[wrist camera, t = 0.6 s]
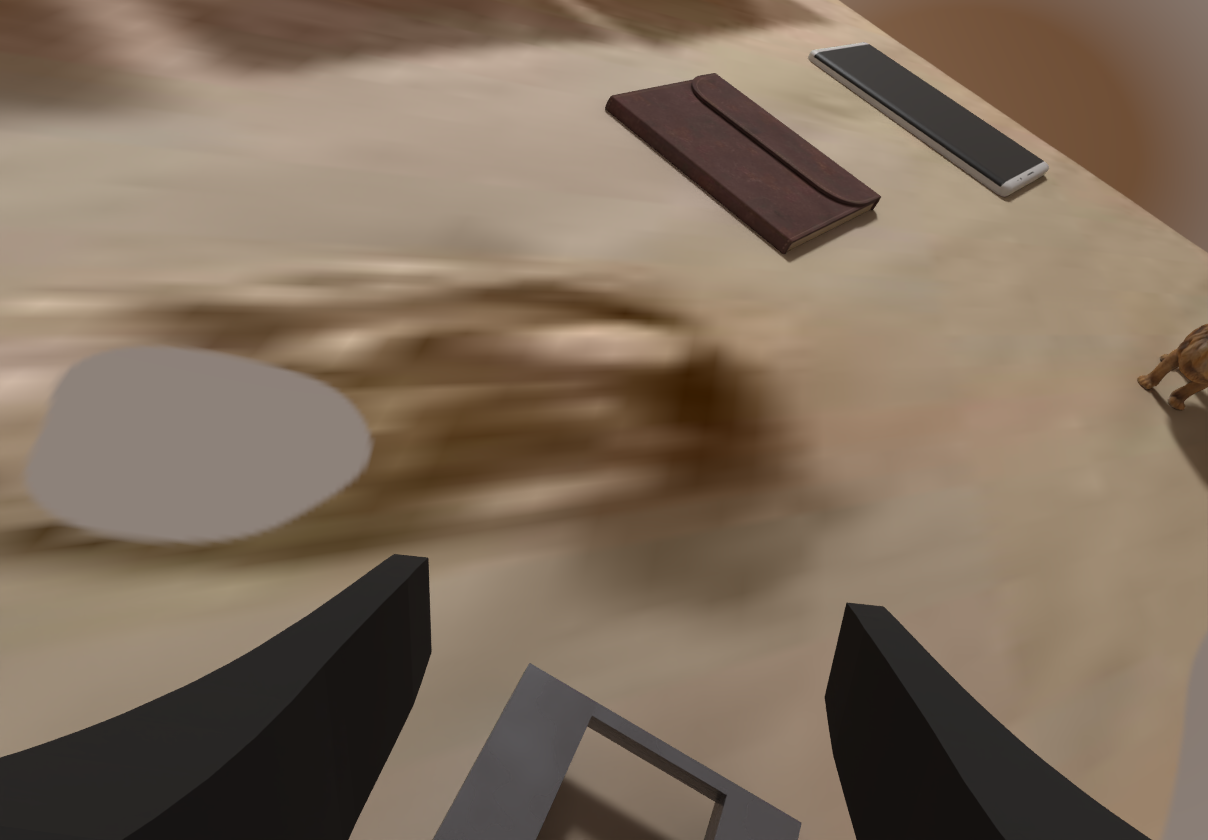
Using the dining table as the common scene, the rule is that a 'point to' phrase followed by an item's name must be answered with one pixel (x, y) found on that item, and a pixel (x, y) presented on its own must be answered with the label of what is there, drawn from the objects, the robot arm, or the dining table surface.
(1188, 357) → the lion figurine
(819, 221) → the notebook
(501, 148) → the dining table surface
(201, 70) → the dining table surface
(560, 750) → the keyhole plate
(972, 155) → the smartphone
